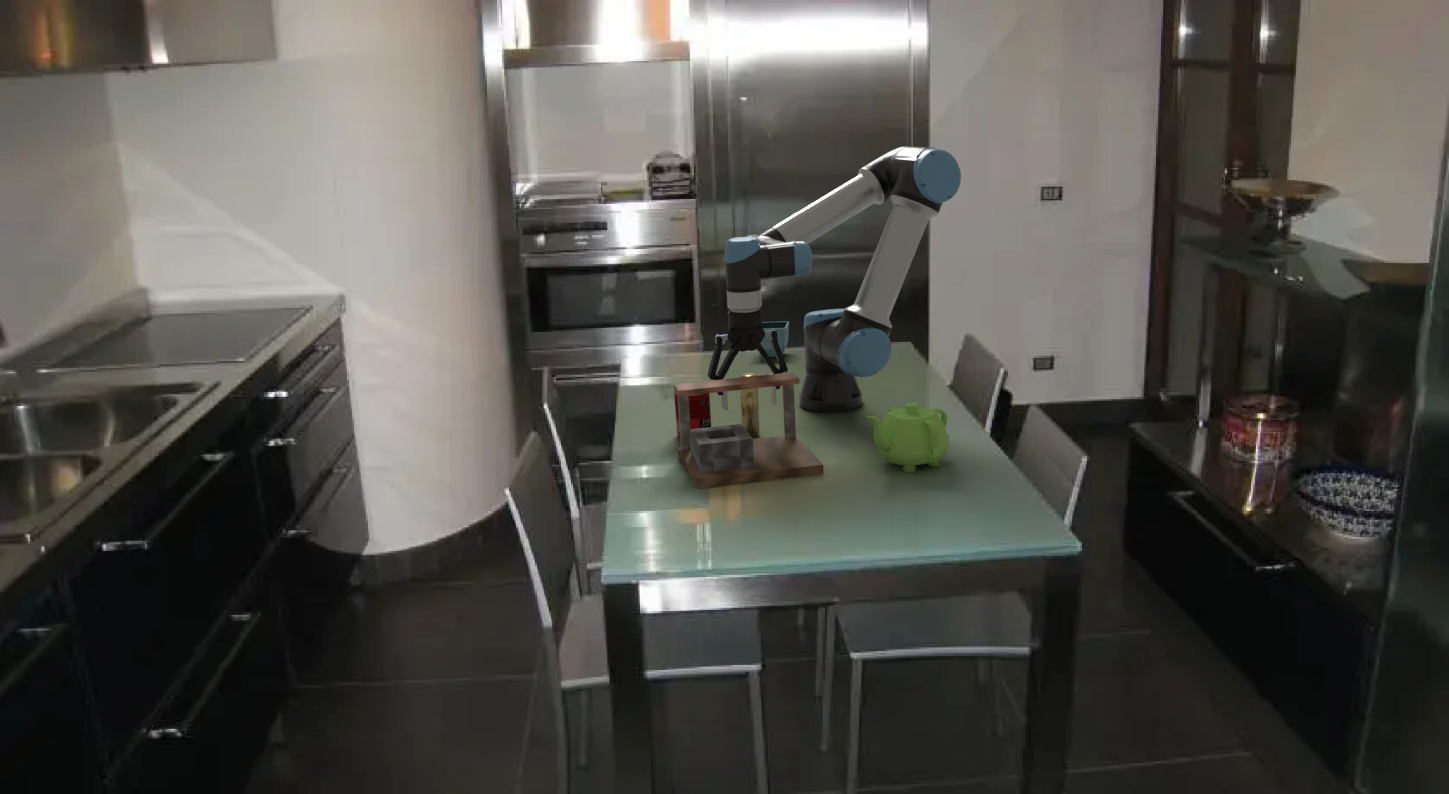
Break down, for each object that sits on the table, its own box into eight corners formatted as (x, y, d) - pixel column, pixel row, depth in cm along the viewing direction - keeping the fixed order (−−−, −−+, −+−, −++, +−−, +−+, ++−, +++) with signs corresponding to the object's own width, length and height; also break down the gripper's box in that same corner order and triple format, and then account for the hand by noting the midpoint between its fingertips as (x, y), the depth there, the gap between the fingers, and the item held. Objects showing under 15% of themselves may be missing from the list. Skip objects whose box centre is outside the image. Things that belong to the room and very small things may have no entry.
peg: (757, 432, 279) (754, 372, 275) (761, 437, 275) (758, 376, 271) (740, 433, 278) (737, 374, 274) (744, 438, 274) (741, 378, 271)
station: (795, 442, 270) (792, 372, 265) (823, 474, 249) (821, 397, 245) (678, 456, 265) (674, 384, 261) (697, 488, 244) (692, 411, 240)
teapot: (936, 480, 242) (936, 419, 239) (866, 473, 248) (865, 413, 244) (955, 455, 256) (955, 396, 253) (889, 449, 262) (888, 392, 258)
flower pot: (755, 359, 346) (754, 328, 343) (760, 352, 354) (758, 321, 352) (786, 359, 344) (785, 328, 342) (790, 351, 352) (789, 321, 350)
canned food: (708, 440, 275) (705, 392, 272) (673, 440, 276) (670, 392, 274) (715, 430, 282) (712, 383, 279) (681, 430, 284) (678, 383, 281)
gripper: (791, 301, 275) (794, 396, 280) (690, 310, 270) (695, 407, 276) (799, 307, 267) (803, 405, 273) (696, 316, 263) (702, 415, 269)
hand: (749, 406), depth 275 cm, fingers open, 10 cm apart
